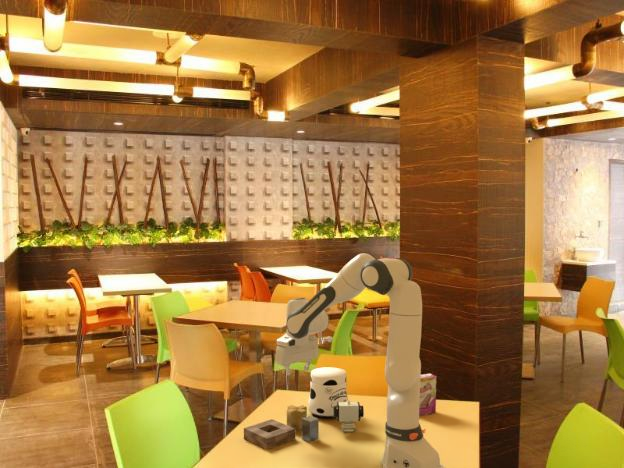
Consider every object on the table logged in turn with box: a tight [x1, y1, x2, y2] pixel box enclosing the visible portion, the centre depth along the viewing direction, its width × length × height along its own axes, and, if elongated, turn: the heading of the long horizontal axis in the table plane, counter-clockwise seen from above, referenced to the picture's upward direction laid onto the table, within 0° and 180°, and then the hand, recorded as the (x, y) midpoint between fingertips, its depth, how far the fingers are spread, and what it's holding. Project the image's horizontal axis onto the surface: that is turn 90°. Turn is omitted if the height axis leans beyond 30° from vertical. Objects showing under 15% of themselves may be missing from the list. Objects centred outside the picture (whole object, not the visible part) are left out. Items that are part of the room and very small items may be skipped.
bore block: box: [243, 419, 296, 450], centre depth 230 cm, size 14×14×4 cm
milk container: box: [307, 366, 350, 418], centre depth 257 cm, size 17×17×18 cm
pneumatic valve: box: [333, 400, 365, 433], centre depth 238 cm, size 6×12×12 cm, turn 91°
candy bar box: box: [419, 373, 438, 417], centre depth 257 cm, size 11×5×16 cm, turn 115°
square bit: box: [301, 415, 320, 443], centre depth 229 cm, size 4×4×8 cm
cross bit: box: [286, 404, 308, 433], centre depth 241 cm, size 8×8×8 cm
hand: (297, 372), depth 239 cm, fingers open, 8 cm apart
